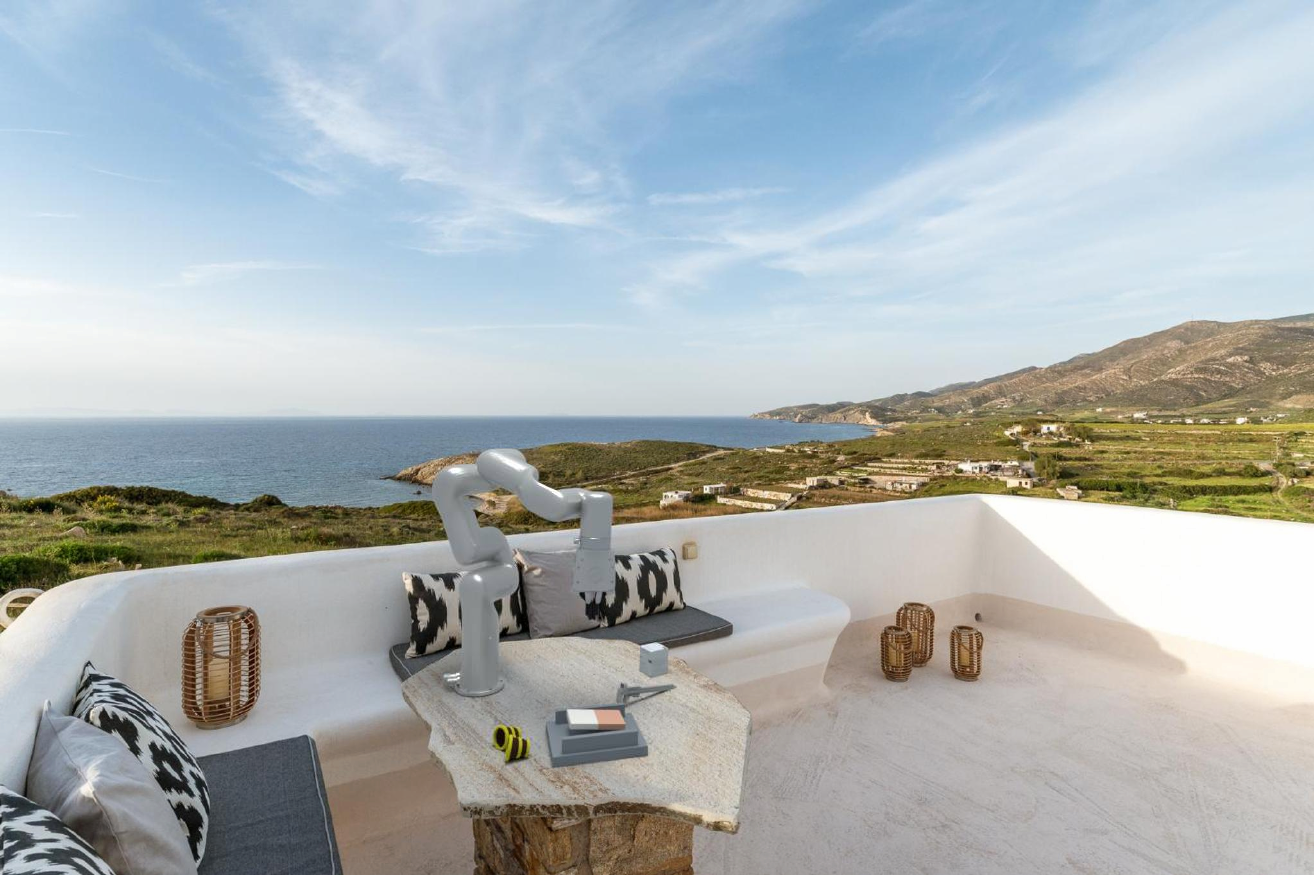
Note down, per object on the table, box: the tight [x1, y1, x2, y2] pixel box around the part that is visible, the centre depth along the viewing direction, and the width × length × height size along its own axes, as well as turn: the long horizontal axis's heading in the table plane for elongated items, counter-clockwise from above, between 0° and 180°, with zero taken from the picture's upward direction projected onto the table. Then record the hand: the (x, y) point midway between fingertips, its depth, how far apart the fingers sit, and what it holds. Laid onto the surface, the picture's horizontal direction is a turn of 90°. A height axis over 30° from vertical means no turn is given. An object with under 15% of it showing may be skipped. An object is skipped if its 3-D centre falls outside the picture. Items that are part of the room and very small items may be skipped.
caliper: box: [615, 682, 678, 708], centre depth 159 cm, size 20×1×6 cm, turn 133°
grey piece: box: [545, 702, 649, 768], centre depth 135 cm, size 20×16×5 cm
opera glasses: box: [492, 724, 531, 762], centre depth 131 cm, size 10×5×5 cm, turn 33°
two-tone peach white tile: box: [566, 709, 626, 730], centre depth 135 cm, size 12×7×1 cm, turn 105°
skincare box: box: [638, 642, 669, 678], centre depth 176 cm, size 6×6×7 cm
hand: (591, 618), depth 148 cm, fingers closed
